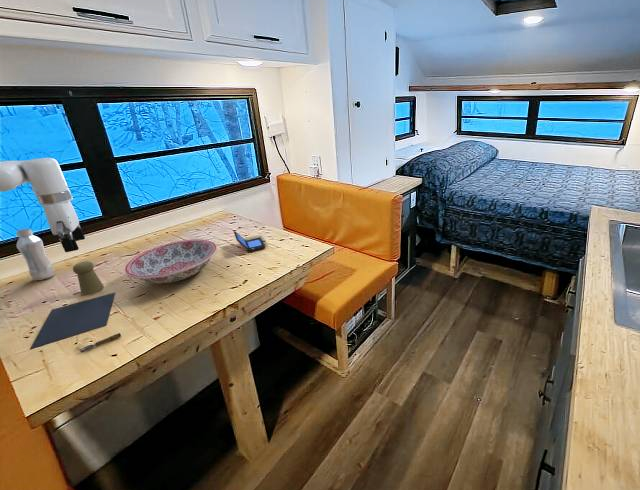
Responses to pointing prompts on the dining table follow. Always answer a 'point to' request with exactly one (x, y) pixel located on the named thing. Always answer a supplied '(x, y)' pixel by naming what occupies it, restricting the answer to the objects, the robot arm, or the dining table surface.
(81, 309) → the mat
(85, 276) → the cork
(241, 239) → the handheld console
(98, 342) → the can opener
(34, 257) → the plastic bottle
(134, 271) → the ceramic bowl
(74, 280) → the dining table surface
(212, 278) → the dining table surface
